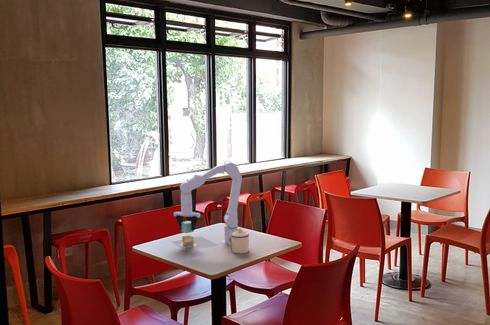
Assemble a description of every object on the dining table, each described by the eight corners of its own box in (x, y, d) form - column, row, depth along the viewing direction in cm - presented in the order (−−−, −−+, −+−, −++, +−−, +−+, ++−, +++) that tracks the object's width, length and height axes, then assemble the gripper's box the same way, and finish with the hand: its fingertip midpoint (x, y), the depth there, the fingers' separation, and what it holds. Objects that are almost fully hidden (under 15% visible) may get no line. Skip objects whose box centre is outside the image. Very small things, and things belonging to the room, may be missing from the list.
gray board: (217, 246, 244) (217, 244, 243) (186, 252, 234) (186, 250, 234) (201, 237, 261) (201, 236, 260) (171, 242, 251) (171, 241, 251)
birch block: (193, 245, 244) (193, 236, 243) (185, 246, 241) (185, 237, 241) (190, 243, 247) (189, 234, 247) (182, 244, 245) (182, 235, 245)
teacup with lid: (253, 250, 235) (252, 228, 233) (241, 255, 228) (241, 232, 226) (235, 246, 242) (234, 224, 241) (223, 250, 235) (222, 228, 234)
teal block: (193, 231, 243) (193, 222, 243) (186, 233, 240) (186, 224, 240) (188, 230, 247) (188, 220, 246) (181, 231, 244) (181, 222, 243)
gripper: (202, 203, 243) (203, 228, 245) (177, 202, 248) (178, 227, 249) (196, 206, 237) (197, 232, 238) (171, 205, 241) (172, 230, 243)
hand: (187, 229), depth 243 cm, fingers closed on teal block, 6 cm apart
